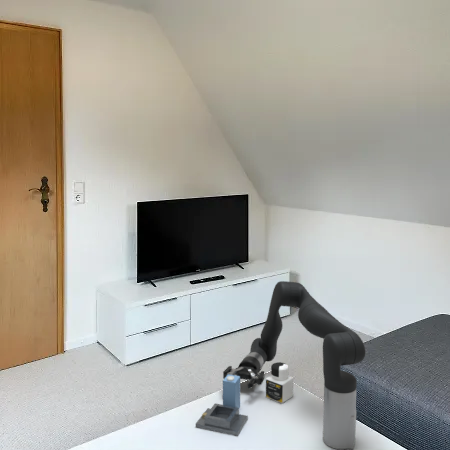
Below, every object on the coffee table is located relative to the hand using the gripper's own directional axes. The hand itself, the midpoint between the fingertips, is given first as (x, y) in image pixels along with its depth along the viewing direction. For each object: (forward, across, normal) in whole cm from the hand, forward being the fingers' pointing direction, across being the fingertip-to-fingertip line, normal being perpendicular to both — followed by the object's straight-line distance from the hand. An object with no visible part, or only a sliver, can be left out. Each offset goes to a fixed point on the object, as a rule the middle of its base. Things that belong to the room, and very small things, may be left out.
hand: (237, 384), depth 165 cm
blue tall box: (+6, 0, +6) cm, 9 cm away
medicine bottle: (-8, +13, +7) cm, 17 cm away
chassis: (+15, 0, +6) cm, 16 cm away
